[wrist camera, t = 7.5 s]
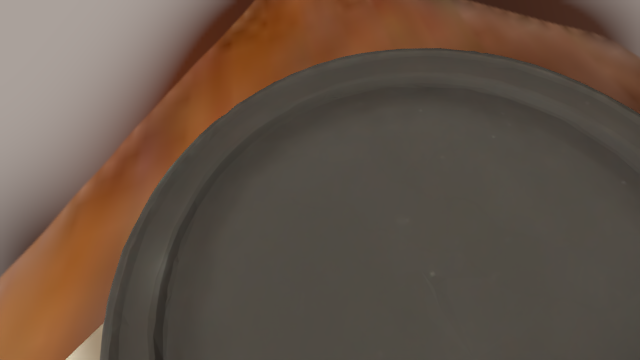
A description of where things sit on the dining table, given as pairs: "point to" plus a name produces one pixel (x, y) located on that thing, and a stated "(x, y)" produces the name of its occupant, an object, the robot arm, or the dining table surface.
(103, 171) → the dining table surface
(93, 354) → the birch board
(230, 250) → the coffee can
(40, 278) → the dining table surface
